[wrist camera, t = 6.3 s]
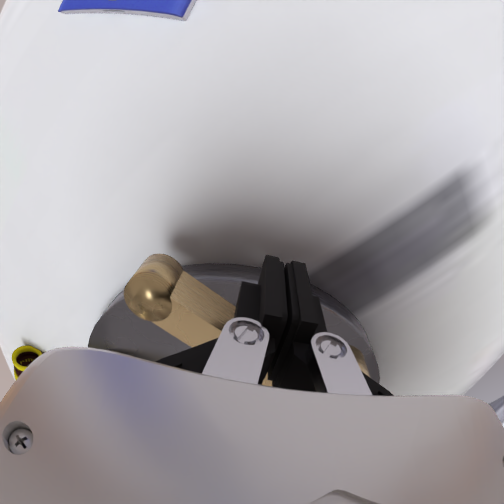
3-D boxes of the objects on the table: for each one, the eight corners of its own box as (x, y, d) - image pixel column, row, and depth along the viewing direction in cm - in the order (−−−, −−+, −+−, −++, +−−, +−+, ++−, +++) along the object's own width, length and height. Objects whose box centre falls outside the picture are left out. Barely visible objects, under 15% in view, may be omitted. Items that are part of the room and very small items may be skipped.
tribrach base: (313, 451, 25) (316, 493, 20) (118, 416, 24) (102, 457, 19) (423, 298, 15) (462, 357, 11) (83, 230, 15) (26, 275, 10)
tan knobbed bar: (378, 363, 15) (393, 407, 12) (324, 399, 16) (330, 442, 13) (174, 217, 12) (143, 253, 9) (130, 284, 13) (100, 327, 10)
